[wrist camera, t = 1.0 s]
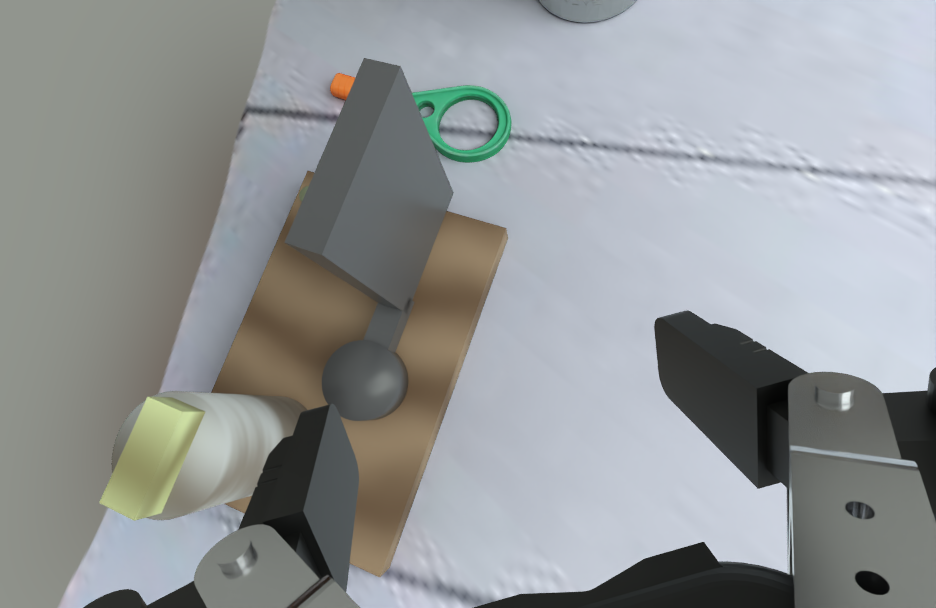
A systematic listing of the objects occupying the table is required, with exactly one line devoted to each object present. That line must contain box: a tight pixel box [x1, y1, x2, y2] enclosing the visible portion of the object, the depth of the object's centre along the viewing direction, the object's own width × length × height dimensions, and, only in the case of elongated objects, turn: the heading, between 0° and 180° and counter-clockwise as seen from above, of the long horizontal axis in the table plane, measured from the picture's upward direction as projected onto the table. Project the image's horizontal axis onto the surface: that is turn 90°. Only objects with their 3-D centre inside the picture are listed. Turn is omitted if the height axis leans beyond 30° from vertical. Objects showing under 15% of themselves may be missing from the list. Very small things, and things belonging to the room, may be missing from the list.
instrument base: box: [100, 171, 508, 577], centre depth 30 cm, size 24×16×14 cm, turn 160°
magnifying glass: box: [330, 73, 511, 162], centre depth 39 cm, size 15×6×2 cm, turn 68°
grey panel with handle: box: [284, 58, 453, 421], centre depth 27 cm, size 16×5×14 cm, turn 160°
